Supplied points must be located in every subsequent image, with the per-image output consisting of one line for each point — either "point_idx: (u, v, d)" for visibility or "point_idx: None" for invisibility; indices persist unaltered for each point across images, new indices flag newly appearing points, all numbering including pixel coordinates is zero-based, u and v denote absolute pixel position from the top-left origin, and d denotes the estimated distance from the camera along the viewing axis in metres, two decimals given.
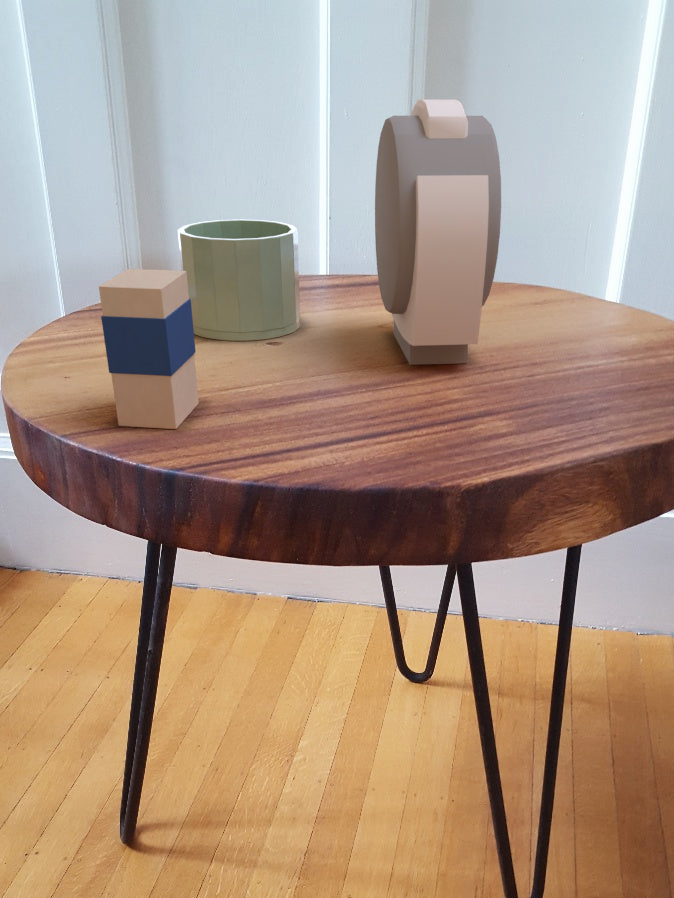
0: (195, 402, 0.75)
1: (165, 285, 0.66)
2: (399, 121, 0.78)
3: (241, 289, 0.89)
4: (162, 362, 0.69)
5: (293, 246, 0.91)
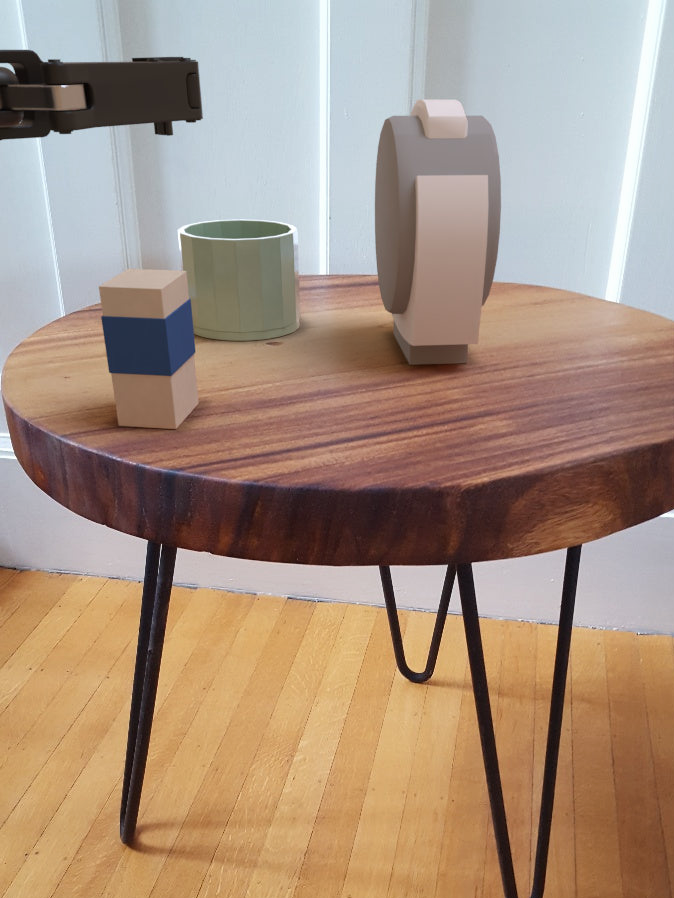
0: (195, 402, 0.75)
1: (165, 285, 0.66)
2: (399, 121, 0.78)
3: (241, 289, 0.89)
4: (162, 362, 0.69)
5: (293, 246, 0.91)
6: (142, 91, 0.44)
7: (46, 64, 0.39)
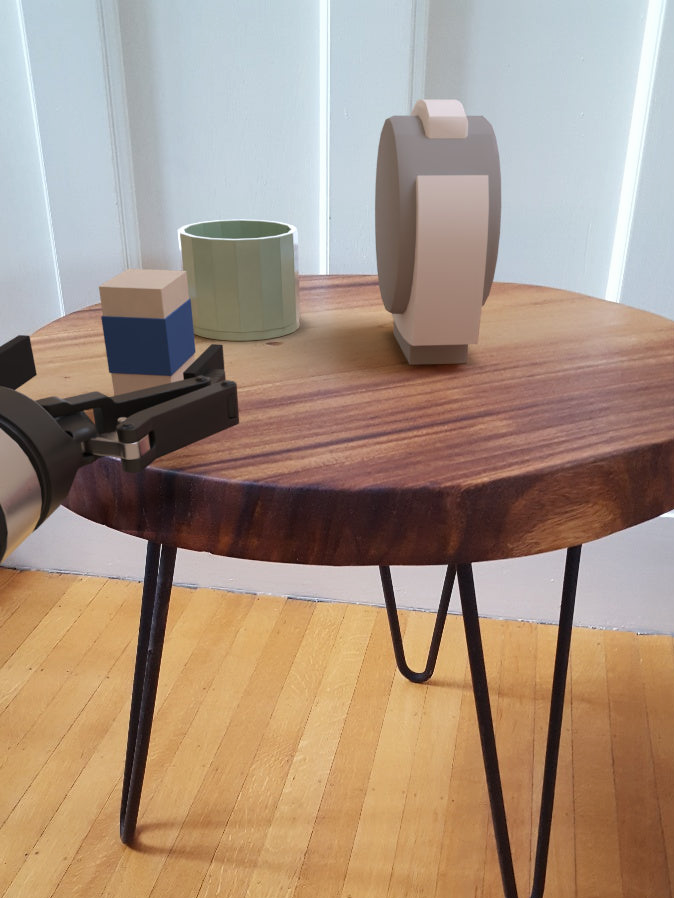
0: None
1: (165, 285, 0.66)
2: (399, 121, 0.78)
3: (241, 289, 0.89)
4: (162, 362, 0.69)
5: (293, 246, 0.91)
6: (192, 421, 0.55)
7: (121, 429, 0.51)
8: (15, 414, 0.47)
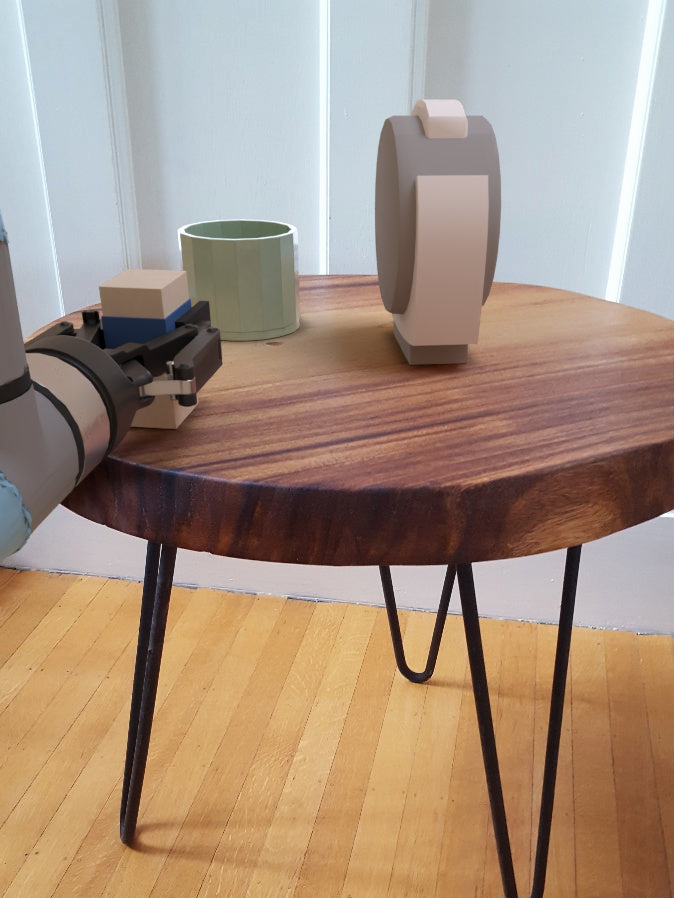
0: None
1: (165, 285, 0.66)
2: (399, 121, 0.78)
3: (241, 289, 0.89)
4: None
5: (293, 246, 0.91)
6: (206, 362, 0.65)
7: (183, 368, 0.60)
8: (87, 359, 0.55)
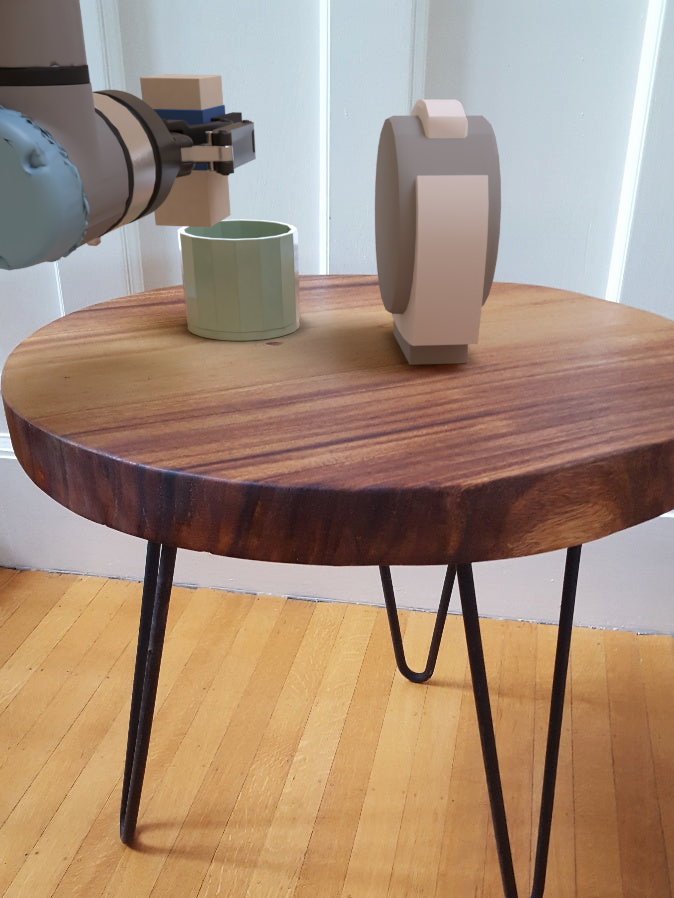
0: (228, 212, 0.79)
1: (202, 77, 0.70)
2: (399, 121, 0.78)
3: (241, 289, 0.89)
4: None
5: (293, 246, 0.91)
6: (242, 144, 0.69)
7: (222, 133, 0.63)
8: (134, 105, 0.59)
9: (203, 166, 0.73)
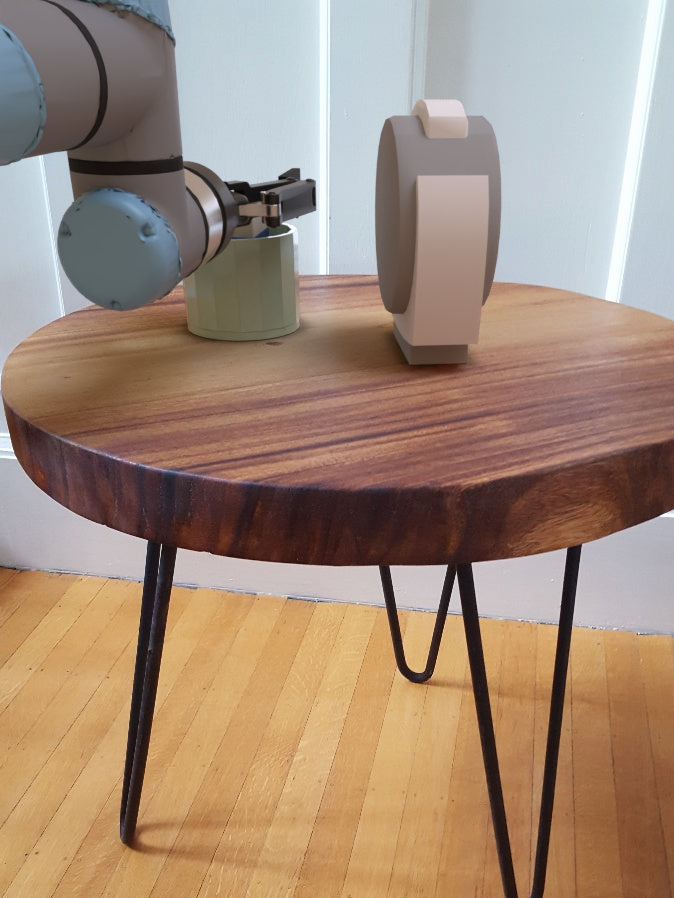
0: None
1: None
2: (399, 121, 0.78)
3: (241, 289, 0.89)
4: None
5: (293, 246, 0.91)
6: (297, 200, 0.83)
7: (270, 194, 0.78)
8: (206, 174, 0.74)
9: None
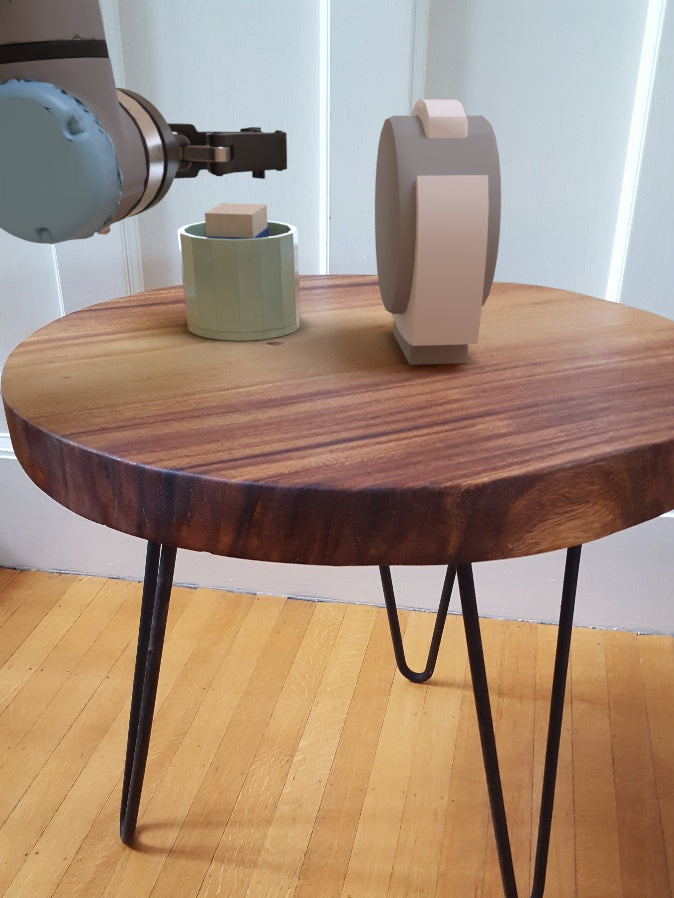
0: None
1: (254, 212, 0.88)
2: (399, 121, 0.78)
3: (241, 289, 0.89)
4: None
5: (293, 246, 0.91)
6: (257, 151, 0.69)
7: (213, 134, 0.65)
8: (141, 101, 0.61)
9: None
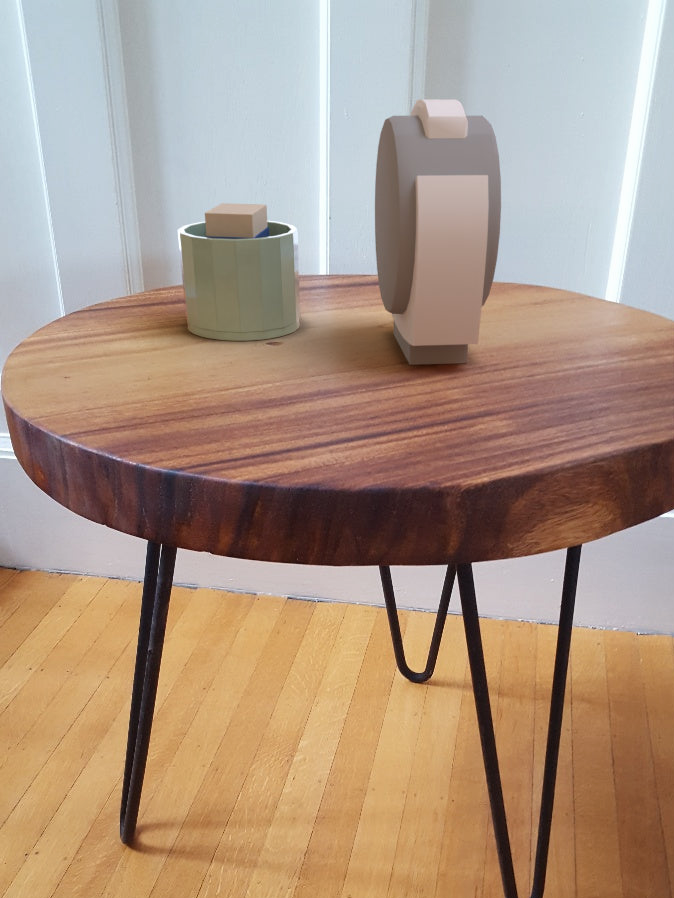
0: None
1: (254, 212, 0.88)
2: (399, 121, 0.78)
3: (241, 289, 0.89)
4: None
5: (293, 246, 0.91)
6: None
7: None
8: None
9: None
